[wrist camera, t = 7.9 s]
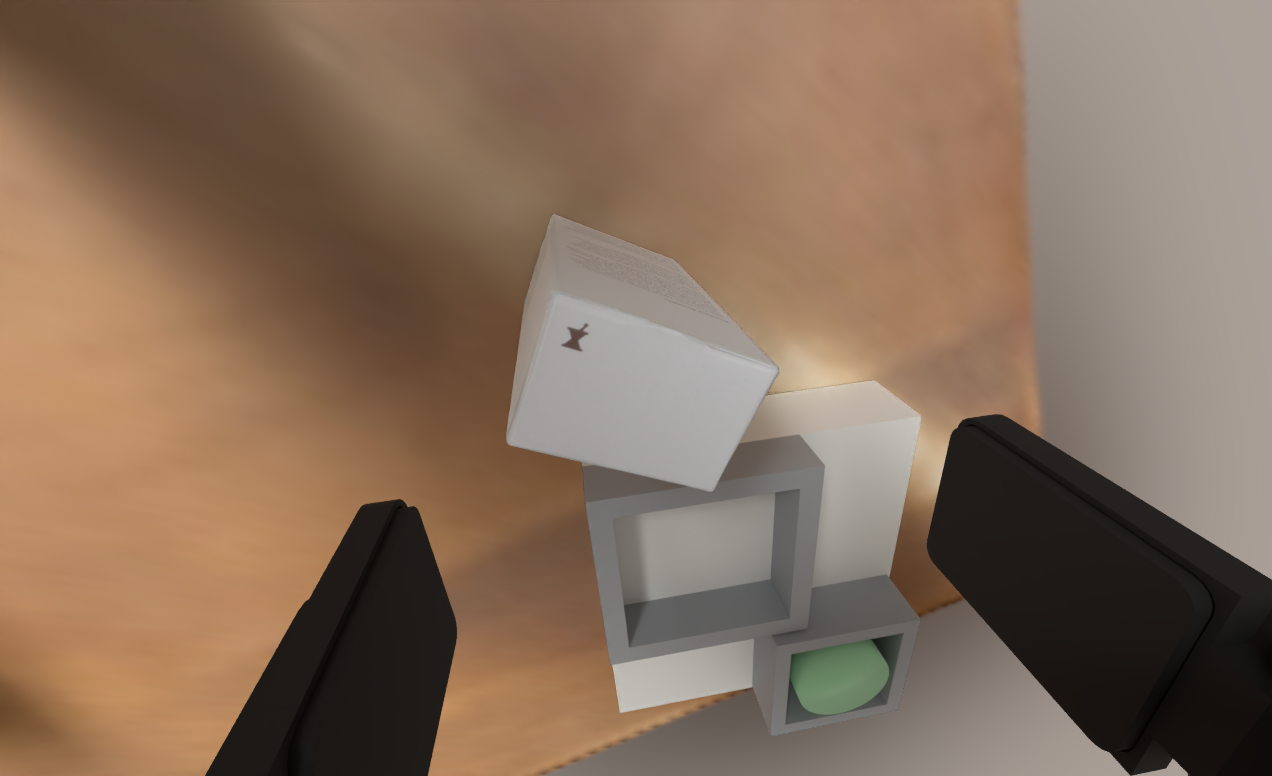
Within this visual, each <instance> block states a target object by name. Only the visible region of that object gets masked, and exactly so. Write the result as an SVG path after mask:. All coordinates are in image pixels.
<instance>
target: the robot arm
mask: <svg viewBox="0 0 1272 776" xmlns="http://www.w3.org/2000/svg"><path fill="white" fill-rule="evenodd" d="M927 550H928V553H929V556H930V558H931V560H932V561H933V563H934V564H935V565H936V566H937V568H938V569H939V570H940V571H941V572H942V573H943V574H944V575H945V577H946V578H947V579H948V580H949V581H950V582H951V583H952V584H953V586H954V587H955V588H956V589H957V590H958V591H959V592H960V594H961V595H962V596H963V597H964V598H965V599H966V600H967V601H968V603H969V604H970V605H971V606H972V607H973V608H974V609H975V610H976V612H977V613H978V614H979V615H980V616H981V617H982V618H983V619H984V621H985V622H986V623H987V624H988V625H989V626H990V627H991V629H992V630H993V631H994V632H995V633H996V634H997V635H998V636H999V638H1000V639H1001V640H1002V641H1003V642H1004V643H1005V644H1006V645H1007V647H1008V648H1009V649H1010V650H1011V651H1012V652H1013V653H1014V655H1015V656H1016V657H1017V658H1018V659H1019V660H1020V661H1021V662H1022V663H1023V665H1024V666H1025V667H1026V668H1027V669H1028V670H1029V671H1030V673H1031V674H1032V675H1033V676H1034V677H1035V678H1036V679H1037V680H1038V682H1039V683H1040V684H1041V685H1042V686H1043V687H1044V688H1045V689H1046V691H1047V692H1048V693H1049V694H1050V695H1051V696H1052V697H1053V699H1054V700H1055V701H1056V702H1057V703H1058V704H1059V705H1060V706H1061V708H1062V709H1063V710H1064V711H1065V712H1066V713H1067V714H1068V716H1069V717H1070V718H1071V719H1072V720H1073V721H1074V722H1075V723H1076V725H1077V726H1078V727H1079V728H1080V729H1081V730H1082V731H1083V732H1084V733H1085V735H1086V736H1087V737H1088V738H1089V739H1090V740H1091V741H1092V742H1093V743H1094V744H1095V745H1097V746H1098V747H1099V748H1101V749H1102V750H1105V751H1107V752H1110V753H1111V754H1112V756H1113V757H1114V758H1115V759H1116V760H1117V761H1118V762H1119V763H1120V765H1121V766H1122V767H1123V768H1124V769H1125V770H1126V771H1127V772H1128V773H1129V774H1130V776H1132V775H1137V774H1141V773H1146V772H1151V771H1156V770H1161V769H1165V768H1167V766H1168V765H1169V763H1170V762H1171V760H1172V759H1174V760H1175V761H1176V762H1178V764H1179V765H1180V766H1181V767H1182V768H1183V769H1184V770H1185V771H1186V772H1187V773H1188V776H1272V580H1271V579H1270V578H1268V577H1266V576H1265V575H1263V574H1261V573H1260V572H1258V571H1257V570H1255V569H1253V568H1252V567H1250V566H1248V565H1247V564H1245V563H1244V562H1242V561H1240V560H1239V559H1237V558H1235V557H1234V556H1232V555H1231V554H1229V553H1227V552H1226V551H1224V550H1222V549H1221V548H1219V547H1217V546H1216V545H1214V544H1212V543H1211V542H1209V541H1208V540H1206V539H1204V538H1203V537H1201V536H1200V535H1198V534H1196V533H1195V532H1193V531H1191V530H1190V529H1188V528H1186V527H1185V526H1183V525H1182V524H1180V523H1178V522H1177V521H1175V520H1174V519H1172V518H1170V517H1169V516H1167V515H1165V514H1164V513H1162V512H1161V511H1159V510H1157V509H1156V508H1154V507H1152V506H1151V505H1149V504H1147V503H1146V502H1144V501H1143V500H1141V499H1139V498H1138V497H1136V496H1135V495H1133V494H1131V493H1130V492H1128V491H1126V490H1125V489H1123V488H1122V487H1120V486H1118V485H1116V484H1115V483H1113V482H1112V481H1110V480H1108V479H1107V478H1105V477H1104V476H1102V475H1100V474H1099V473H1097V472H1095V471H1094V470H1092V469H1090V468H1089V467H1087V466H1086V465H1084V464H1082V463H1081V462H1079V461H1078V460H1076V459H1074V458H1073V457H1071V456H1069V455H1068V454H1066V453H1064V452H1063V451H1061V450H1060V449H1058V448H1056V447H1055V446H1053V445H1051V444H1050V443H1048V442H1047V441H1045V440H1043V439H1042V438H1040V437H1039V436H1037V435H1035V434H1034V433H1032V432H1030V431H1029V430H1027V429H1025V428H1024V427H1022V426H1021V425H1019V424H1017V423H1016V422H1014V421H1012V420H1011V419H1009V418H1008V417H1005V416H1003V415H998V414H994V415H987V416H980V417H973V418H967V419H965V420H962V422H961V423H960V424H959V426H958V428H957V429H955V430H954V431H953V432H952V434H951V437H950V441H949V446H948V450H947V455H946V459H945V464H944V468H943V472H942V477H941V481H940V486H939V490H938V495H937V499H936V504H935V508H934V513H933V517H932V522H931V526H930V530H929V535H928V539H927ZM456 639H457V626H456V620H455V616H454V613H453V610H452V607H451V605H450V602H449V599H448V596H447V593H446V590H445V587H444V584H443V581H442V578H441V575H440V572H439V569H438V566H437V563H436V560H435V557H434V554H433V552H432V549H431V546H430V543H429V540H428V537H427V534H426V531H425V528H424V525H423V522H422V519H421V516H420V513H419V511H418V509H417V508H416V507H414V506H412V507H407V505H406V503H405V502H404V501H403V500H400V499H398V500H391V501H384V502H377V503H370V504H365V505H363V506H362V507H361V508H360V509H359V510H358V512H357V514H356V516H355V518H354V519H353V521H352V523H351V525H350V527H349V528H348V530H347V532H346V534H345V536H344V537H343V539H342V541H341V543H340V545H339V546H338V548H337V550H336V552H335V554H334V555H333V557H332V559H331V561H330V563H329V564H328V566H327V568H326V570H325V572H324V573H323V575H322V577H321V579H320V581H319V582H318V584H317V586H316V588H315V590H314V591H313V593H312V595H311V597H310V598H309V600H307V601H306V602H305V603H304V604H303V605H302V607H301V608H300V609H299V611H298V612H297V614H296V616H295V618H294V619H293V621H292V623H291V625H290V626H289V628H288V630H287V632H286V634H285V635H284V637H283V639H282V641H281V642H280V644H279V646H278V648H277V649H276V651H275V653H274V655H273V657H272V658H271V660H270V662H269V664H268V665H267V667H266V669H265V671H264V672H263V674H262V676H261V678H260V680H259V681H258V683H257V685H256V687H255V688H254V690H253V692H252V694H251V695H250V697H249V699H248V701H247V702H246V704H245V706H244V708H243V710H242V711H241V713H240V715H239V717H238V718H237V720H236V722H235V724H234V725H233V727H232V729H231V731H230V733H229V734H228V736H227V738H226V740H225V741H224V743H223V745H222V747H221V748H220V750H219V752H218V754H217V756H216V757H215V759H214V761H213V763H212V764H211V766H210V768H209V770H208V771H207V773H206V775H205V776H428V772H429V767H430V762H431V758H432V753H433V748H434V744H435V739H436V734H437V730H438V725H439V720H440V716H441V711H442V706H443V702H444V697H445V692H446V687H447V683H448V678H449V673H450V669H451V664H452V659H453V655H454V650H455V645H456Z"/></svg>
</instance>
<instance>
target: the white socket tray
mask: <svg viewBox="0 0 1272 776" xmlns="http://www.w3.org/2000/svg"><path fill="white" fill-rule="evenodd" d="M921 417H922V416H921V415H920V414H918V413H917V412H916V411H914V410H913V409H912V408H910V407H909V406H908V405H906V404H905V403H904V402H902V401H901V400H900V399H898V398H897V397H896V396H895V395H893V394H892V393H891V392H889V391H888V390H887V389H885V388H884V387H883V386H881V385H880V384H879V383H877V382H876V381H875V380H871V381H864V382H857V383H850V384H843V385H836V386H829V387H821V388H814V389H807V390H800V391H793V392H786V393H779V394H772V395H766V396H765V398H764V400H763V402H762V403H761V405H760V407H759V409H758V410H757V412H756V414H755V416H754V418H753V419H752V421H751V423H750V425H749V427H748V429H747V430H746V432H745V434H744V436H743V437H742V439H741V441H740V443H739V444H738V446H737V448H736V450H735V451H734V453H733V455H732V457H731V459H730V460H729V462H728V464H727V466H726V468H725V470H724V471H723V473H722V475H721V477H720V479H719V481H718V483H717V485H716V487H715V489H714V490H713V491H712V492H708V491H704V490H701V489H697V488H693V487H688V486H684V485H680V484H676V483H671V482H667V481H663V480H658V479H654V478H650V477H646V476H641V475H637V474H633V473H628V472H624V471H619V470H615V469H610V468H606V467H601V466H597V465H592V464H588V463H583V462H582V472H583V484H584V496H585V505H586V512H587V518H588V525H589V531H590V537H591V544H592V550H593V556H594V563H595V569H596V575H597V582H598V588H599V595H600V601H601V607H602V614H603V620H604V626H605V633H606V639H607V646H608V652H609V658H610V665H613V671H614V677H615V684H616V690H617V697H618V703H619V710H620V713H623V712H628V711H633V710H638V709H643V708H648V707H653V706H658V705H664V704H669V703H674V702H679V701H684V700H689V699H694V698H700V697H705V696H710V695H715V694H720V693H725V692H730V691H735V690H741V689H746V688H751V687H753V689H754V692H755V694H756V697H757V700H758V703H759V705H760V708H761V711H762V714H763V716H764V719H765V722H766V725H767V728H768V730H769V733H770V736H774V735H780V734H785V733H789V732H794V731H799V730H804V729H809V728H814V727H819V726H824V725H828V724H833V723H838V722H843V721H848V720H853V719H858V718H862V717H867V716H872V715H877V714H882V713H887V712H892V711H897V710H898V708H899V705H900V700H901V696H902V693H903V689H904V685H905V681H906V677H907V673H908V669H909V665H910V661H911V657H912V653H913V649H914V645H915V641H916V637H917V633H918V629H919V625H920V622H921V619H920V617H919V616H918V615H917V614H916V612H915V611H914V610H913V608H912V607H911V606H910V604H909V603H908V602H907V600H906V599H905V598H904V596H903V595H902V594H901V593H900V591H899V590H898V589H897V587H896V586H895V585H894V583H893V582H892V581H891V579H890V578H889V577H890V572H891V567H892V562H893V557H894V552H895V547H896V542H897V537H898V532H899V527H900V522H901V517H902V512H903V507H904V502H905V497H906V492H907V487H908V482H909V477H910V472H911V467H912V462H913V457H914V452H915V447H916V442H917V437H918V432H919V427H920V422H921ZM869 639H872V641H873V642H874V644H875V645H876V647H877V649H878V650H879V652H880V653H881V655H882V656H883V658H884V660H885V661H886V663H887V665H888V667H889V677H888V680H887V682H886V684H885V685H884V687H883V688H882V690H881V691H880V692H879V693H878V694H877V695H876V696H875V697H873V698H872V699H871V700H869V701H868V702H866V703H865V704H863V705H861V706H859V707H857V708H855V709H852V710H850V711H847V712H843V713H839V714H831V715H822V714H816V713H813V712H810V711H808V710H806V709H805V708H804V707H803V706H802V705H801V703H800V700H799V698H798V696H797V694H796V691H795V689H794V687H793V684H792V682H791V680H790V677H789V676H790V665H791V654H795V653H801V652H806V651H811V650H817V649H822V648H827V647H832V646H838V645H843V644H848V643H853V642H859V641H864V640H869Z"/></svg>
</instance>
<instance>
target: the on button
mask: <svg viewBox="0 0 1272 776" xmlns="http://www.w3.org/2000/svg"><path fill="white" fill-rule="evenodd" d="M789 677H790V680H791V682H792V684H793V687H794V689H795V691H796V694H797V696H798V698H799V700H800V703H801V705H802V706H803V707H804V708H805V709H806V710H808V711H810V712H813V713H816V714H822V715H831V714H839V713H843V712H847V711H850V710H852V709H855V708H857V707H859V706H861V705H863V704H865V703H866V702H868V701H869V700H871V699H872V698H873V697H875V696H876V695H877V694H878V693H879V692H880V691H881V690H882V688H883V687H884V685H885V684H886V682H887V680H888V677H889V667H888V665H887V663H886V661H885V660H884V658H883V656H882V655H881V653H880V652H879V650H878V649H877V647H876V645H875V644H874V642H873V641H872V639H869V640H864V641H859V642H853V643H848V644H843V645H838V646H832V647H827V648H822V649H817V650H811V651H806V652H801V653H795V654H791V665H790V676H789Z"/></svg>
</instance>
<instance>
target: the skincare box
mask: <svg viewBox="0 0 1272 776" xmlns="http://www.w3.org/2000/svg"><path fill="white" fill-rule="evenodd" d="M778 374H779V368H778V366H777V365H776V364H775V363H774V362H773V361H772V360H771V359H770V358H769V357H768V356H767V355H766V354H765V353H764V352H763V351H762V350H761V349H760V348H759V347H758V346H757V345H756V344H755V342H754V341H753V340H752V339H751V338H750V337H749V336H748V335H747V334H746V333H745V332H744V331H743V330H742V329H741V328H740V327H739V326H738V325H737V324H736V323H735V321H734V320H733V319H732V318H731V317H730V316H729V315H728V314H727V313H726V312H725V311H724V310H723V309H722V308H721V307H720V306H719V305H718V304H717V303H716V302H715V301H714V300H713V299H712V298H711V297H710V296H709V295H708V294H707V293H706V292H705V291H704V289H703V288H702V287H701V286H700V285H699V284H698V283H697V282H696V281H695V280H694V279H693V278H692V277H691V276H690V275H689V274H688V273H687V272H686V271H685V270H684V269H683V268H682V267H681V266H680V264H679V263H677V262H676V261H675V260H673V259H671V258H668V257H666V256H663V255H660V254H658V253H655V252H653V251H650V250H647V249H645V248H642V247H640V246H637V245H634V244H632V243H629V242H626V241H624V240H621V239H619V238H616V237H613V236H611V235H608V234H606V233H603V232H600V231H598V230H595V229H592V228H590V227H587V226H584V225H582V224H579V223H577V222H574V221H571V220H569V219H566V218H563V217H561V216H558V215H556V214H552V216H551V218H550V221H549V225H548V228H547V231H546V234H545V237H544V240H543V243H542V246H541V249H540V253H539V256H538V259H537V262H536V265H535V269H534V272H533V276H532V279H531V283H530V286H529V290H528V293H527V296H526V299H525V304H524V311H523V317H522V324H521V332H520V339H519V347H518V353H517V361H516V369H515V375H514V382H513V389H512V396H511V406H510V412H509V418H508V425H507V434H506V441H507V443H508V444H509V445H510V446H514V447H519V448H523V449H528V450H532V451H536V452H540V453H545V454H549V455H553V456H557V457H562V458H566V459H570V460H575V461H579V462H583V463H588V464H592V465H597V466H601V467H606V468H610V469H615V470H619V471H624V472H628V473H633V474H637V475H641V476H646V477H650V478H654V479H658V480H663V481H667V482H671V483H676V484H680V485H684V486H688V487H693V488H697V489H701V490H704V491H708V492H712V491H713V490H714V489H715V487H716V485H717V483H718V481H719V479H720V477H721V475H722V473H723V471H724V470H725V468H726V466H727V464H728V462H729V460H730V459H731V457H732V455H733V453H734V451H735V450H736V448H737V446H738V444H739V443H740V441H741V439H742V437H743V436H744V434H745V432H746V430H747V429H748V427H749V425H750V423H751V421H752V419H753V418H754V416H755V414H756V412H757V410H758V409H759V407H760V405H761V403H762V402H763V400H764V398H765V396H766V394H767V393H768V391H769V389H770V387H771V386H772V384H773V382H774V381H775V379H776V377H777V376H778Z"/></svg>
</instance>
